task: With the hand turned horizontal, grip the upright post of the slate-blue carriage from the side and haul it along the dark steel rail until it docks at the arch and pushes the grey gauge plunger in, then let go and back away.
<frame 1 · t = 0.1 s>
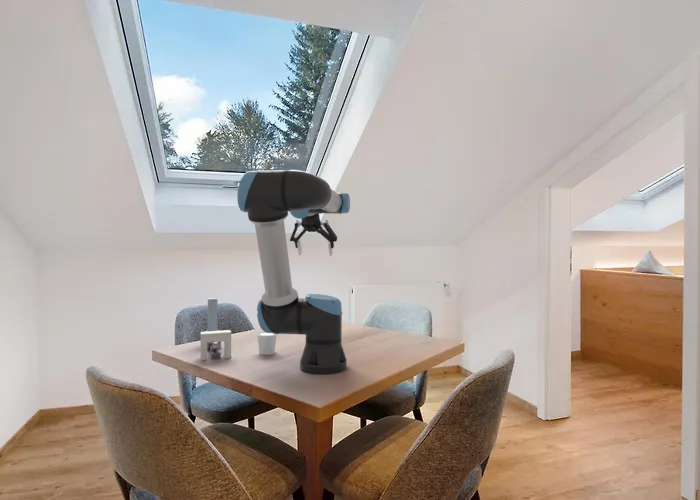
hand: (315, 253, 190), 36 cm above the table, tool tilted 35°, fingers open, 13 cm apart
plunger: (215, 344, 154), point 4 cm above the table, slide at 0.0 cm
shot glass: (266, 353, 159), on the table
rail: (214, 351, 162), on the table
carriage: (213, 322, 169), point 9 cm above the table, slide at 0.0 cm
arch: (215, 357, 152), on the table
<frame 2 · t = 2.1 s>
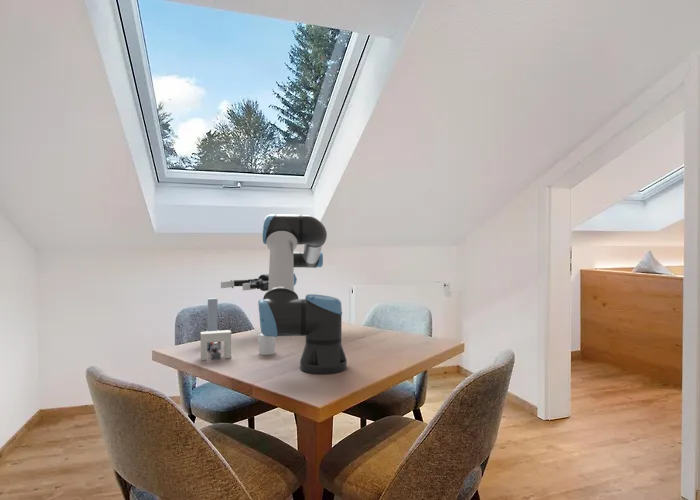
hand: (232, 286, 180), 22 cm above the table, tool horizontal, fingers open, 13 cm apart
nothing on the table moved.
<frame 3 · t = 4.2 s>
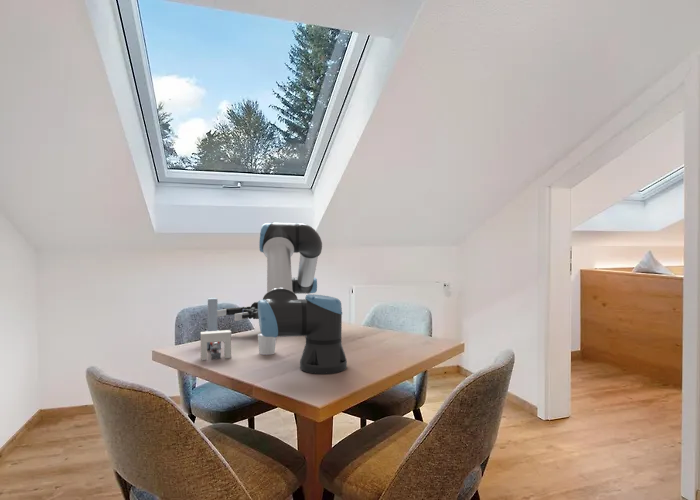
hand: (223, 315, 178), 10 cm above the table, tool horizontal, fingers open, 13 cm apart
nothing on the table moved.
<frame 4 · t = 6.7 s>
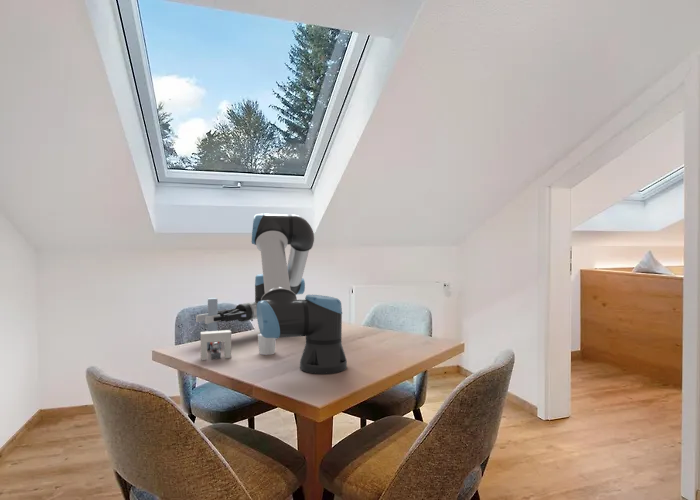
hand: (201, 319, 168), 10 cm above the table, tool horizontal, fingers closed on carriage, 5 cm apart
carriage: (213, 322, 169), point 9 cm above the table, slide at 0.0 cm, touching gripper
everything else where it was.
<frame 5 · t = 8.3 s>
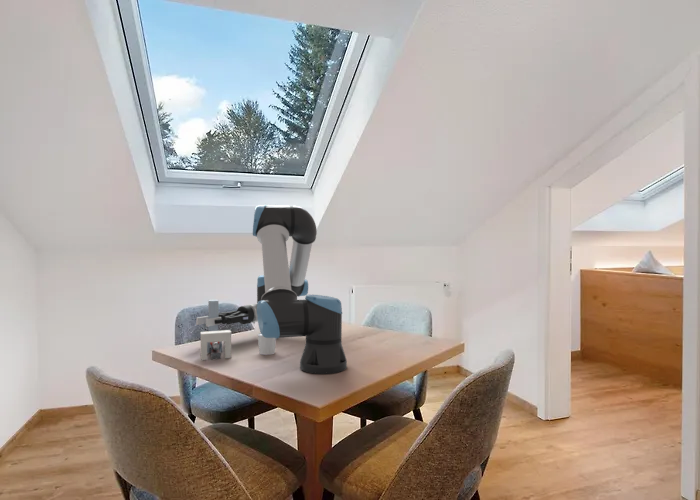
hand: (201, 322, 163), 11 cm above the table, tool horizontal, fingers closed on carriage, 5 cm apart
carriage: (213, 325, 164), point 9 cm above the table, slide at 6.0 cm, touching gripper
everything else where it was.
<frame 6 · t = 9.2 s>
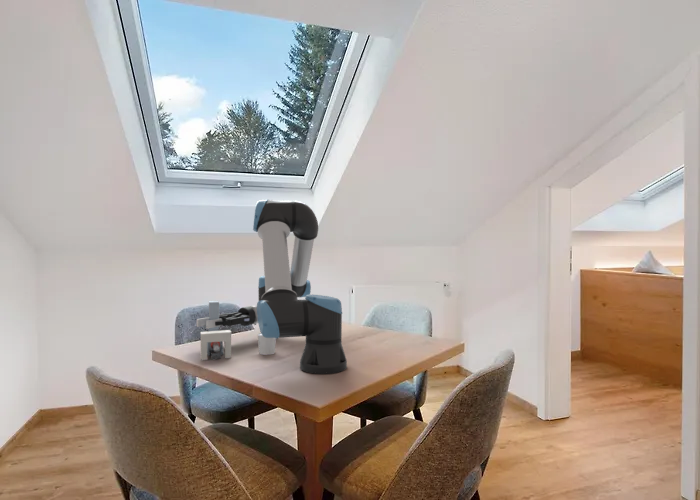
hand: (202, 323, 159), 11 cm above the table, tool horizontal, fingers closed on carriage, 5 cm apart
plunger: (216, 347, 151), point 4 cm above the table, slide at 3.6 cm, touching carriage
carriage: (214, 327, 160), point 9 cm above the table, slide at 9.8 cm, touching gripper, plunger
everything else where it was.
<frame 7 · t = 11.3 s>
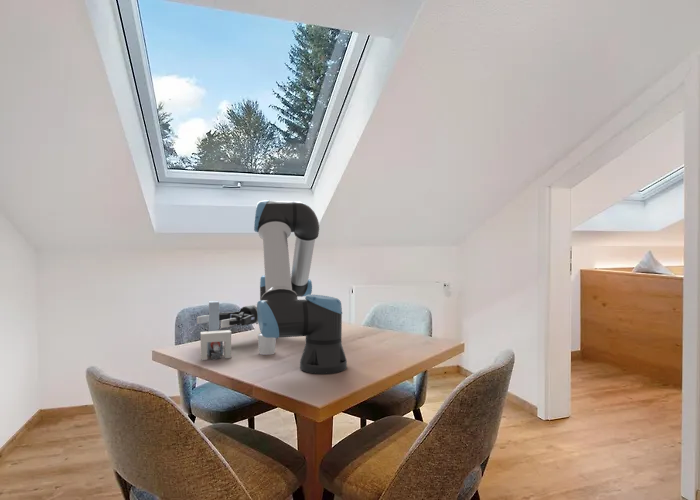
hand: (209, 322, 162), 11 cm above the table, tool horizontal, fingers open, 13 cm apart
carriage: (214, 327, 160), point 9 cm above the table, slide at 10.0 cm, touching plunger
everything else where it was.
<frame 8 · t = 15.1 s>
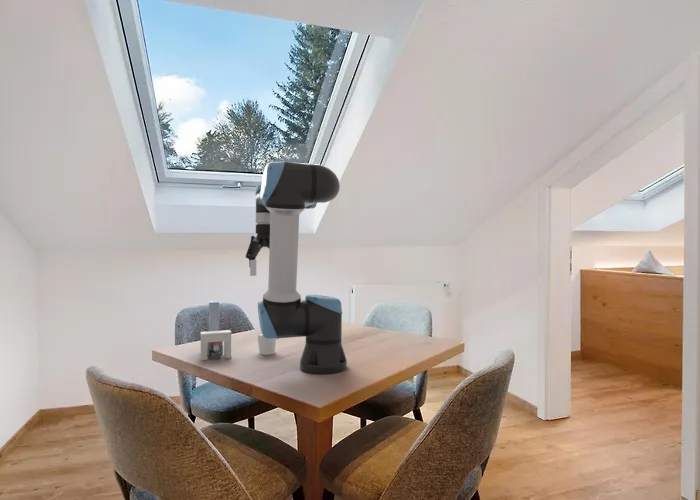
hand: (265, 276, 176), 27 cm above the table, tool pointing down, fingers open, 13 cm apart
nothing on the table moved.
at the end: carriage slide at 10.0 cm; plunger slide at 3.8 cm; the gripper is holding nothing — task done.
